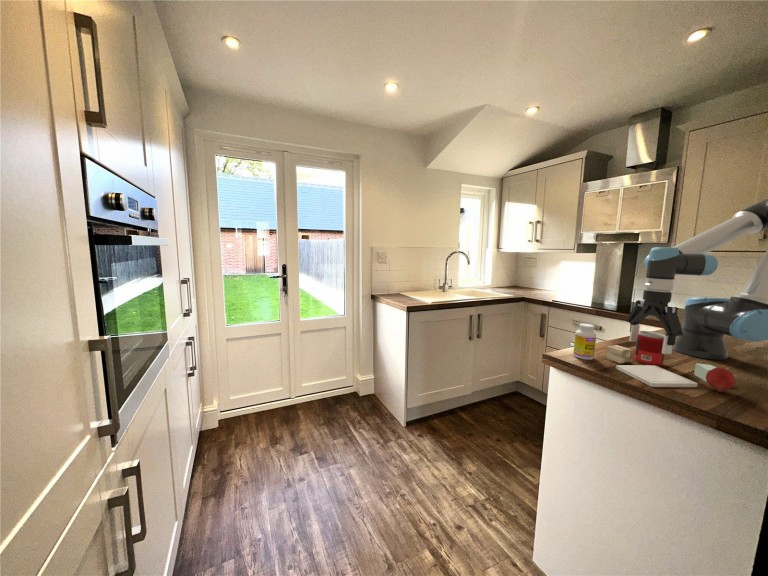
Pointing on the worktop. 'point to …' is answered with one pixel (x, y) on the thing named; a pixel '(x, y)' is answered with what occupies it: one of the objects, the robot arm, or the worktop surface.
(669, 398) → the worktop surface
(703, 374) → the sage block
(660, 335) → the canned food
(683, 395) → the worktop surface
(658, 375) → the tray
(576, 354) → the supplement bottle
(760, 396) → the worktop surface
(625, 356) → the beech block
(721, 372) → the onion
